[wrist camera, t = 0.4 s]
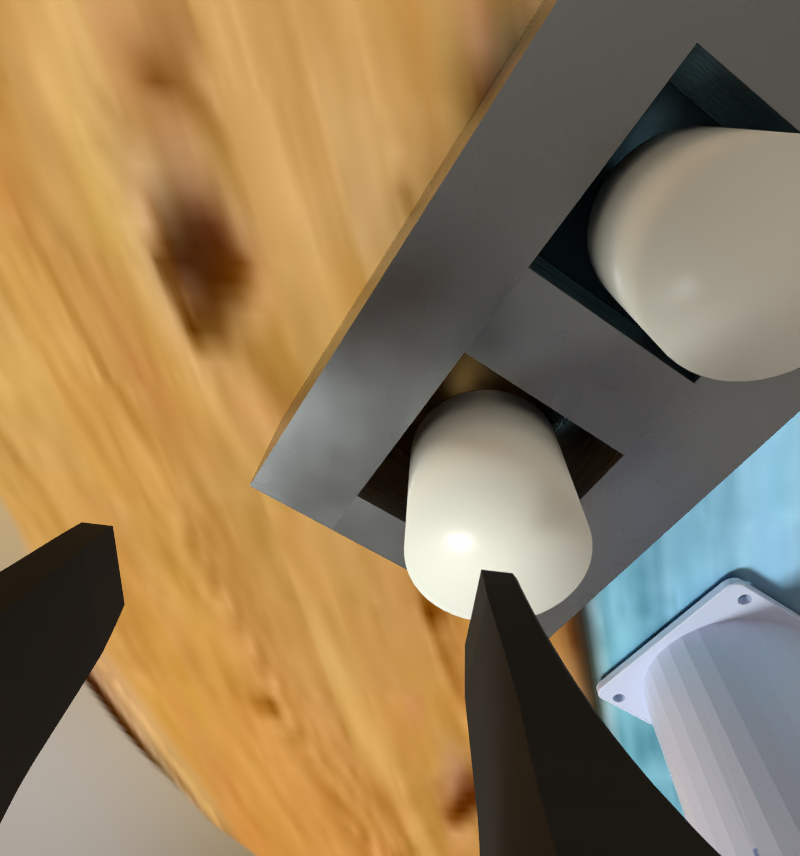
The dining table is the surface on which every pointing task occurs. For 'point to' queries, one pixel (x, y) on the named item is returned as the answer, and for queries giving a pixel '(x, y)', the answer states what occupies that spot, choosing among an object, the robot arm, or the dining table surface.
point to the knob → (492, 504)
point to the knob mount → (547, 289)
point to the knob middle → (707, 247)
